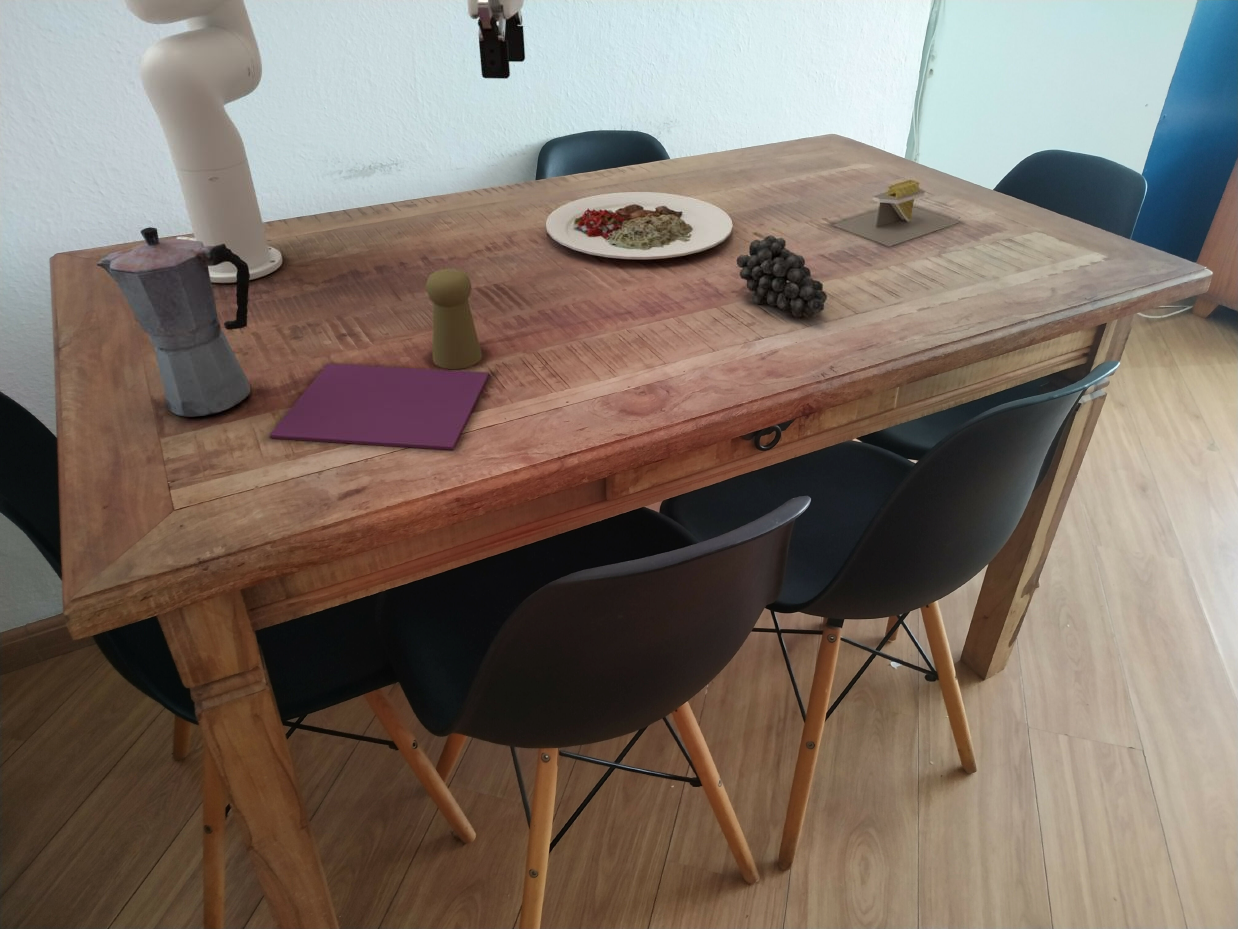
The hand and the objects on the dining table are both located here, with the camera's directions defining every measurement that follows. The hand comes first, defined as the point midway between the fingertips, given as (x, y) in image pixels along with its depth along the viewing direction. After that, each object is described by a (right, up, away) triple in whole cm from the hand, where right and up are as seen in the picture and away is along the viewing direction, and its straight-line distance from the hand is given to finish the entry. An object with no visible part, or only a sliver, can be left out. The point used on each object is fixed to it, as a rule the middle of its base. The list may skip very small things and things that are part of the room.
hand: (504, 69), depth 107 cm
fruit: (+36, -26, +14) cm, 47 cm away
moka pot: (-32, -40, -6) cm, 52 cm away
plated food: (+17, -10, +37) cm, 42 cm away
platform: (+60, -8, +41) cm, 73 cm away
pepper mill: (-6, -35, +2) cm, 35 cm away
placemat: (-13, -41, -7) cm, 43 cm away
